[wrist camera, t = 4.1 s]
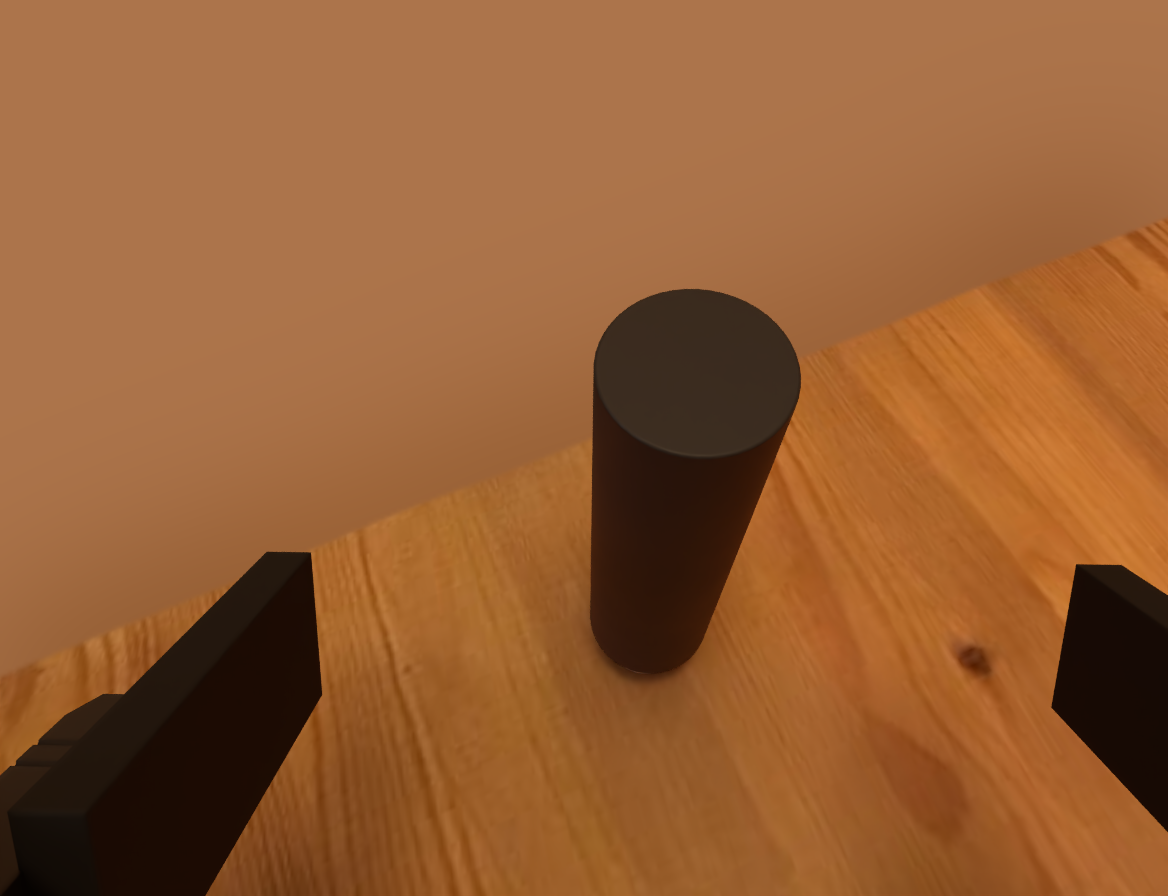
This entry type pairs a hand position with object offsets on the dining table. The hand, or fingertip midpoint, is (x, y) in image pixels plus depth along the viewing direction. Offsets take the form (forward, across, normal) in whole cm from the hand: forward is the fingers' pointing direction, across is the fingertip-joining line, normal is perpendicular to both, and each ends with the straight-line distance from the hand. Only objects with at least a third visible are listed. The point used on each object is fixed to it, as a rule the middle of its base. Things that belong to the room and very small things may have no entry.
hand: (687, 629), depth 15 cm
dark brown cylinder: (+9, 0, -4) cm, 10 cm away
